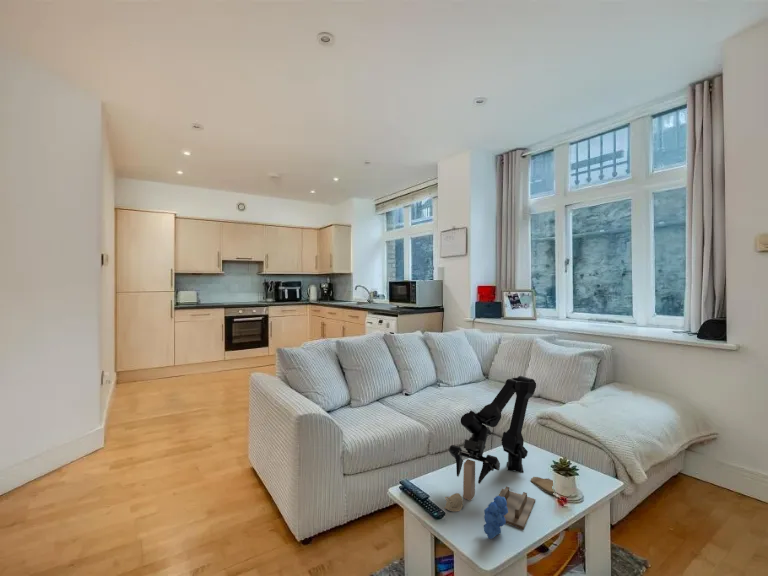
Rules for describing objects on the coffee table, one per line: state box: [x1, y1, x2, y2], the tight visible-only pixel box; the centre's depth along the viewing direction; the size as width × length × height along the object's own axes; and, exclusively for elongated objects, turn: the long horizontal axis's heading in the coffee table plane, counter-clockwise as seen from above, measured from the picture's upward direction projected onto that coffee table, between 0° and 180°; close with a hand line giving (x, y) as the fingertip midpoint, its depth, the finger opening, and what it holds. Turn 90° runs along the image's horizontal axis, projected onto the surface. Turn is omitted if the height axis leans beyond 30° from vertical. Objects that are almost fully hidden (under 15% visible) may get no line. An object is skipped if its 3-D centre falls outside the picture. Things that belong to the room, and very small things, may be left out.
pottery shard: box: [530, 476, 554, 495], centre depth 143 cm, size 8×3×15 cm
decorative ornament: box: [443, 492, 464, 513], centre depth 130 cm, size 4×8×5 cm, turn 119°
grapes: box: [483, 495, 508, 540], centre depth 117 cm, size 12×7×12 cm, turn 131°
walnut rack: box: [497, 486, 536, 530], centre depth 130 cm, size 18×12×4 cm, turn 146°
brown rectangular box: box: [462, 458, 476, 502], centre depth 137 cm, size 3×4×13 cm
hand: (467, 479), depth 135 cm, fingers open, 8 cm apart
